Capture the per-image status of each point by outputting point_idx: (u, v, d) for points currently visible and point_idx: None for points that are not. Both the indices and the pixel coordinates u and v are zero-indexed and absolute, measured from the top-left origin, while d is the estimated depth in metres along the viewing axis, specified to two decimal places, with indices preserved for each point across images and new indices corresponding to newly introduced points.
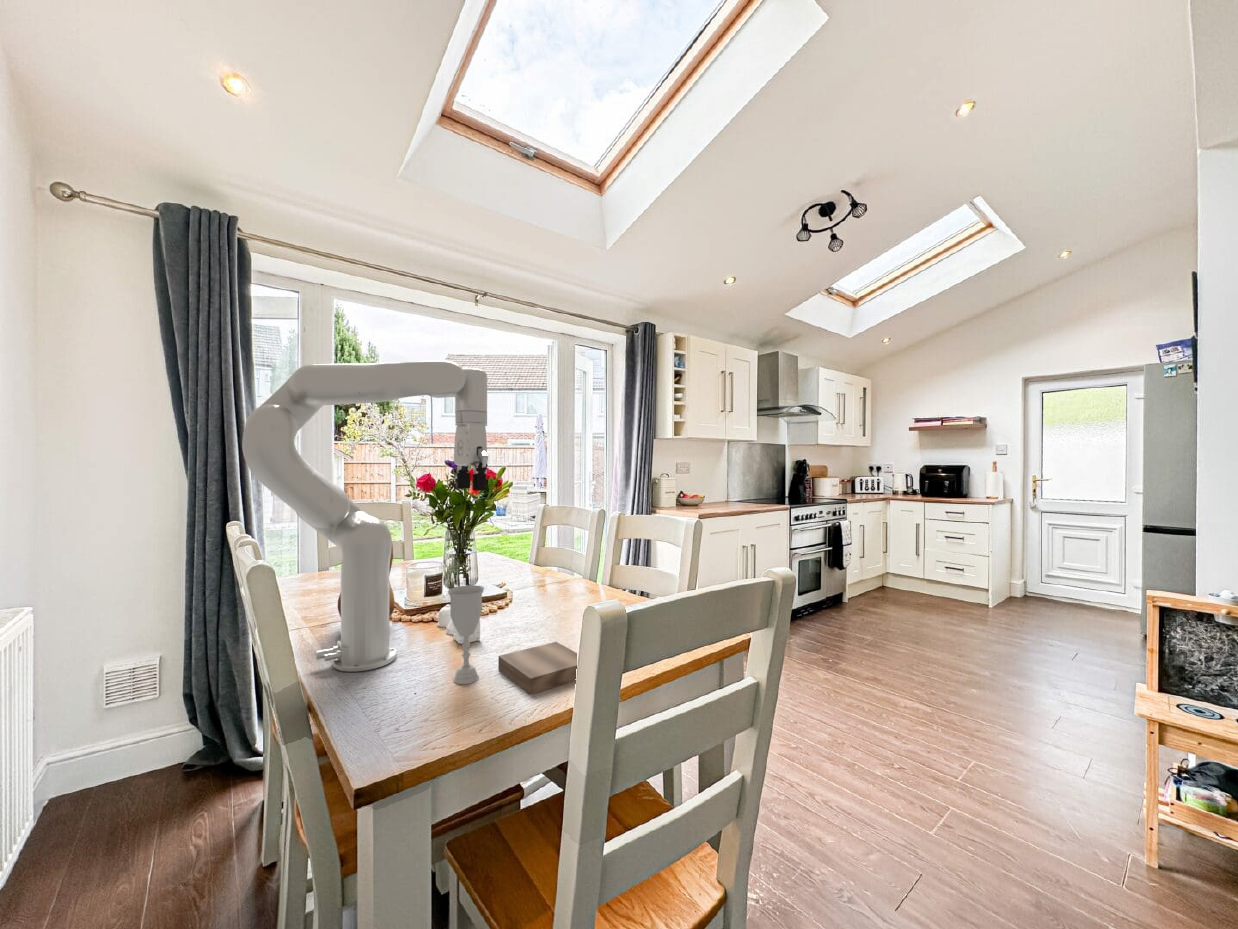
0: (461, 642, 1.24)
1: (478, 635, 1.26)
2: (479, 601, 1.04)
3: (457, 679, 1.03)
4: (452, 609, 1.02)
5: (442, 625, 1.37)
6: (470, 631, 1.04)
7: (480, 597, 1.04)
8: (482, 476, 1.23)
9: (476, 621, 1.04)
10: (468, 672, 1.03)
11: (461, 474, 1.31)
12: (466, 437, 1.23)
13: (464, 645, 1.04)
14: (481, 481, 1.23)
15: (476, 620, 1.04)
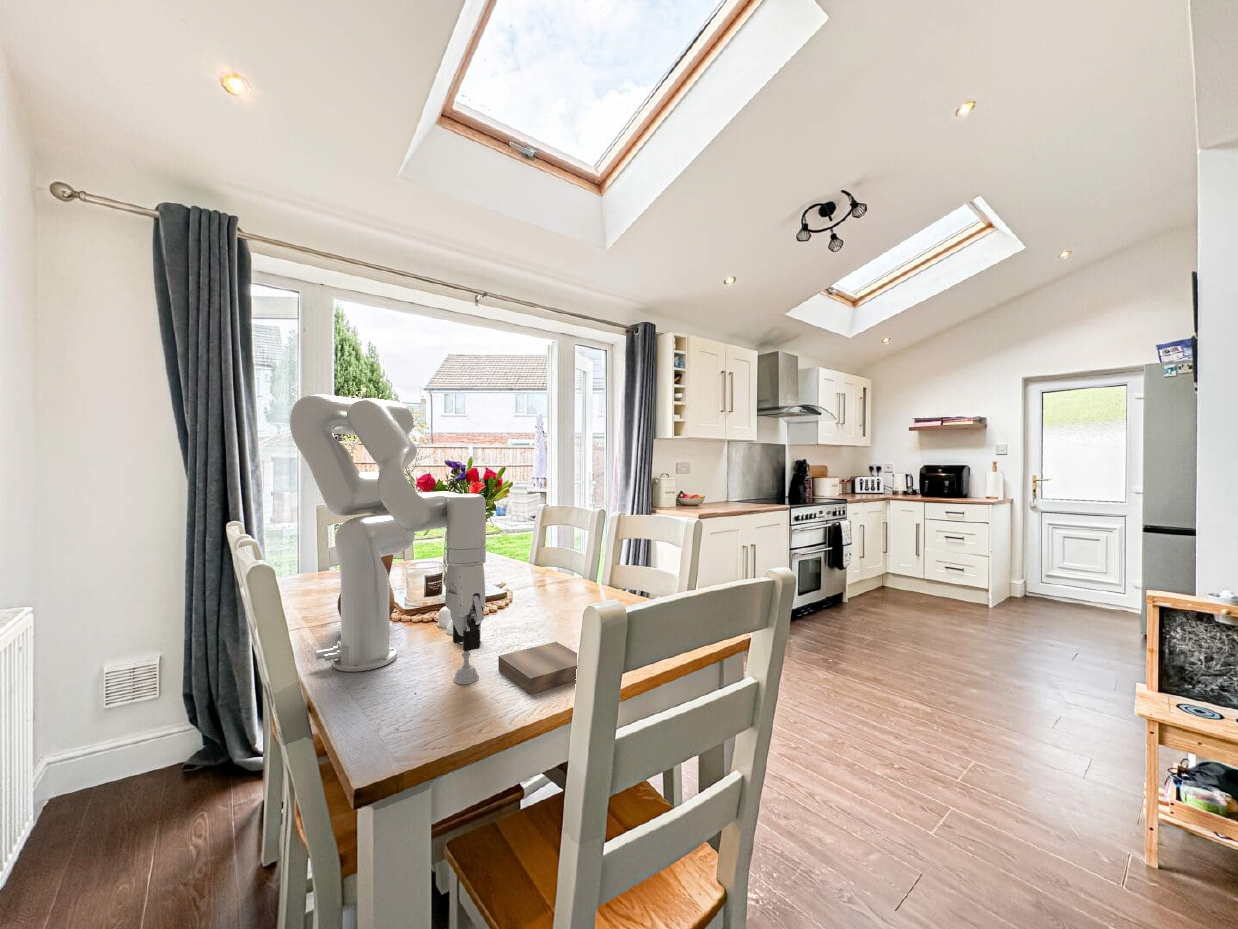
0: (462, 642, 1.24)
1: None
2: None
3: (457, 679, 1.03)
4: (452, 609, 1.02)
5: (442, 625, 1.37)
6: None
7: None
8: (475, 633, 1.02)
9: None
10: (468, 672, 1.03)
11: None
12: (460, 583, 1.00)
13: None
14: (474, 639, 1.02)
15: None
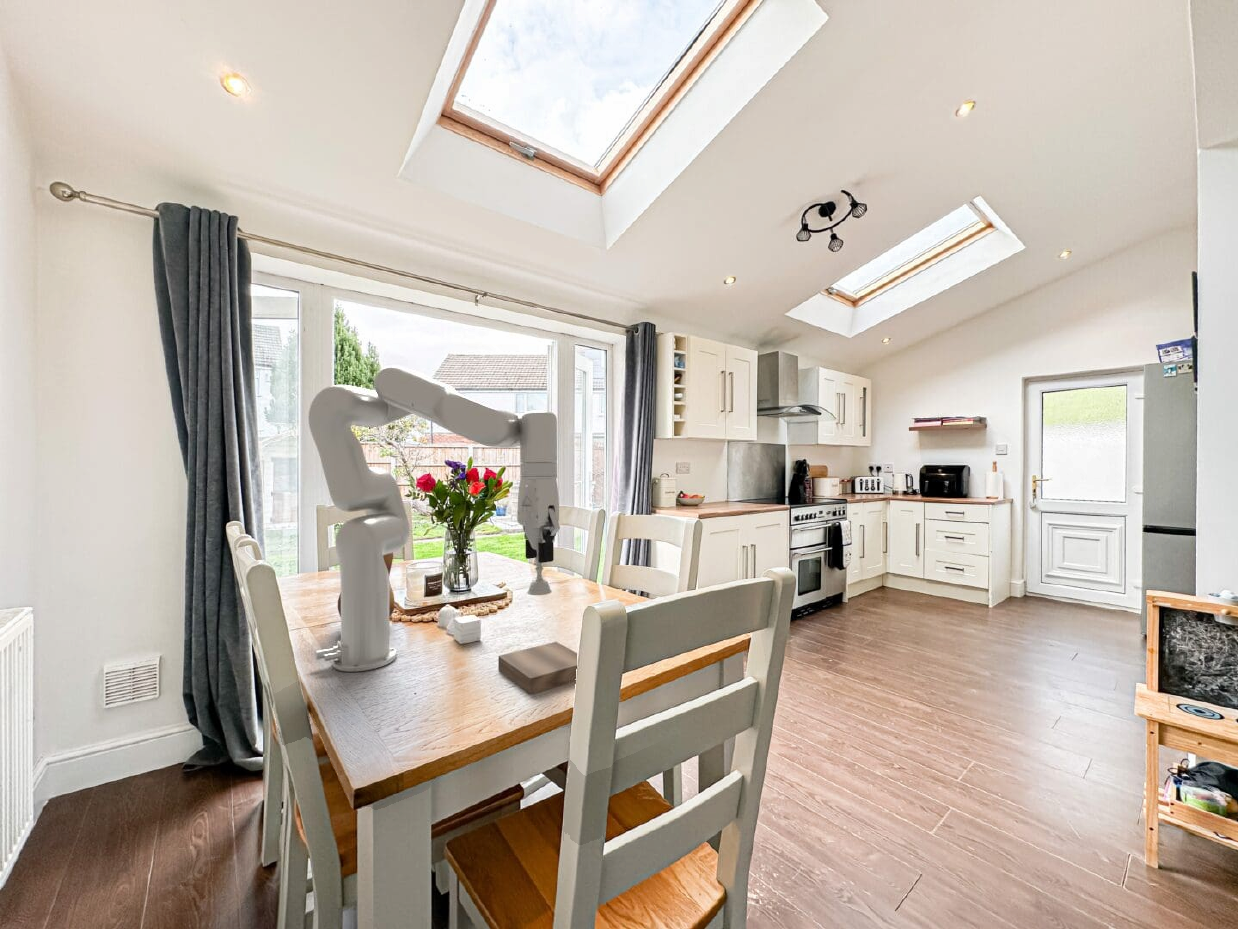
0: (462, 642, 1.24)
1: (479, 635, 1.26)
2: None
3: (532, 591, 1.06)
4: (527, 522, 1.05)
5: (442, 625, 1.37)
6: None
7: None
8: (549, 545, 1.05)
9: None
10: (542, 584, 1.06)
11: None
12: (535, 495, 1.03)
13: None
14: (548, 551, 1.04)
15: None
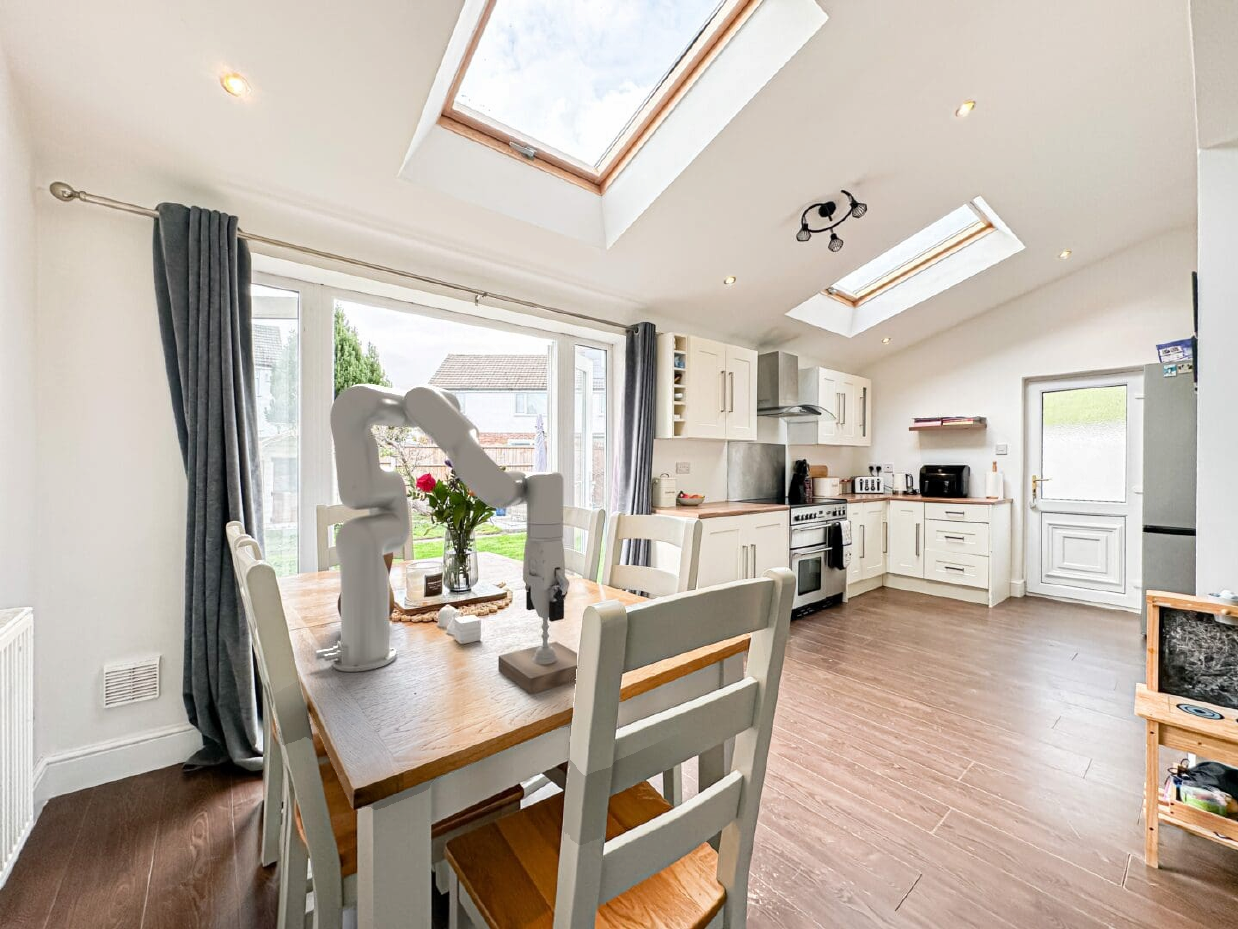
0: (462, 642, 1.24)
1: (479, 635, 1.26)
2: None
3: (538, 659, 1.06)
4: (533, 591, 1.05)
5: (442, 625, 1.37)
6: None
7: None
8: (560, 604, 1.03)
9: None
10: (548, 653, 1.06)
11: None
12: (542, 557, 1.03)
13: (544, 626, 1.06)
14: (559, 610, 1.03)
15: None
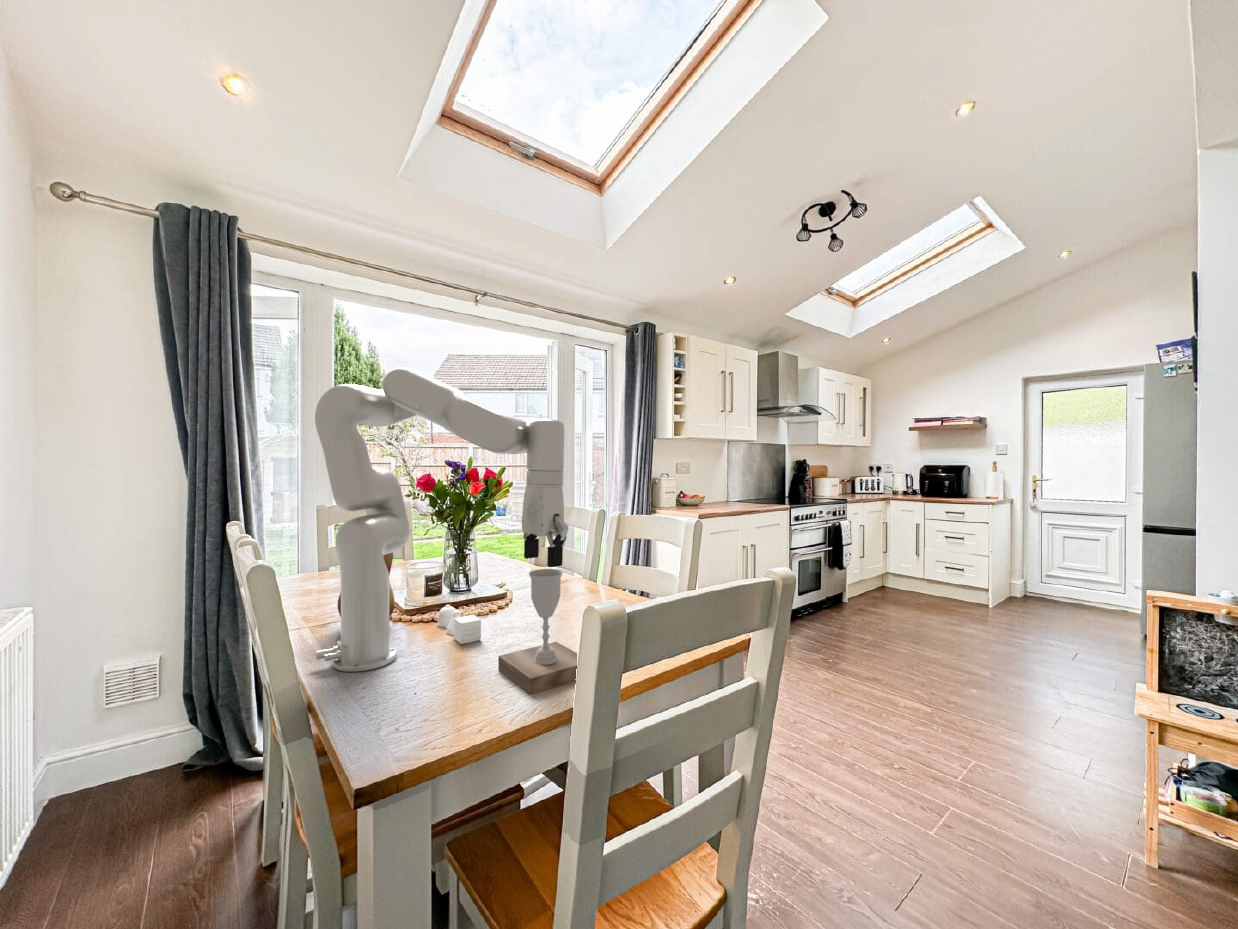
0: (462, 642, 1.24)
1: (479, 635, 1.26)
2: (559, 584, 1.07)
3: (538, 660, 1.05)
4: (534, 591, 1.05)
5: (442, 625, 1.37)
6: (550, 613, 1.06)
7: (559, 580, 1.07)
8: (559, 550, 1.03)
9: (556, 603, 1.06)
10: (549, 653, 1.06)
11: (529, 541, 1.11)
12: (541, 503, 1.03)
13: (544, 627, 1.06)
14: (558, 556, 1.03)
15: (556, 602, 1.06)
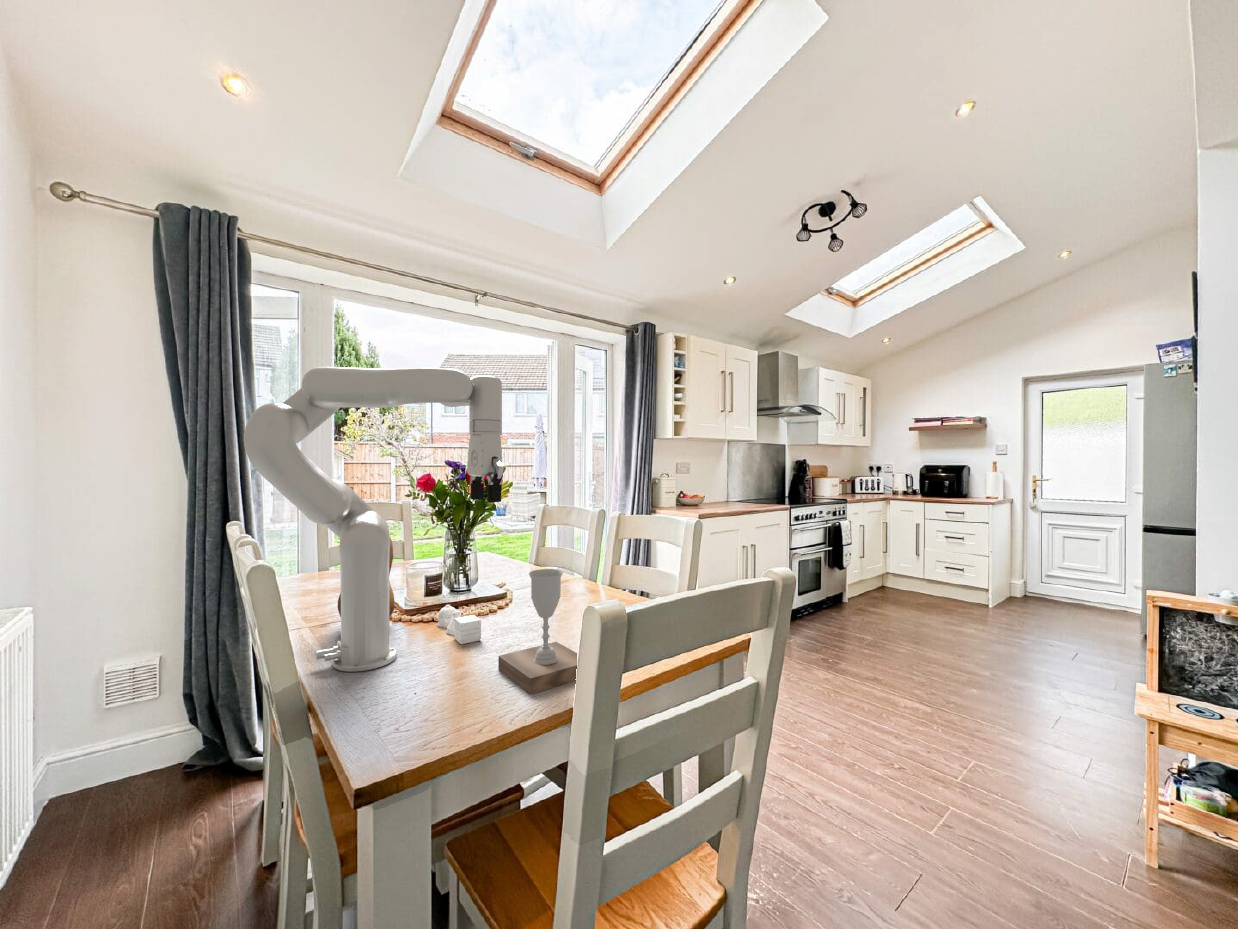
0: (462, 642, 1.24)
1: (479, 635, 1.26)
2: (559, 584, 1.07)
3: (538, 660, 1.05)
4: (534, 591, 1.05)
5: (442, 625, 1.37)
6: (550, 613, 1.06)
7: (560, 580, 1.07)
8: (497, 487, 1.19)
9: (556, 603, 1.06)
10: (549, 653, 1.06)
11: (475, 484, 1.27)
12: (481, 447, 1.19)
13: (544, 627, 1.06)
14: (496, 492, 1.19)
15: (556, 602, 1.06)
